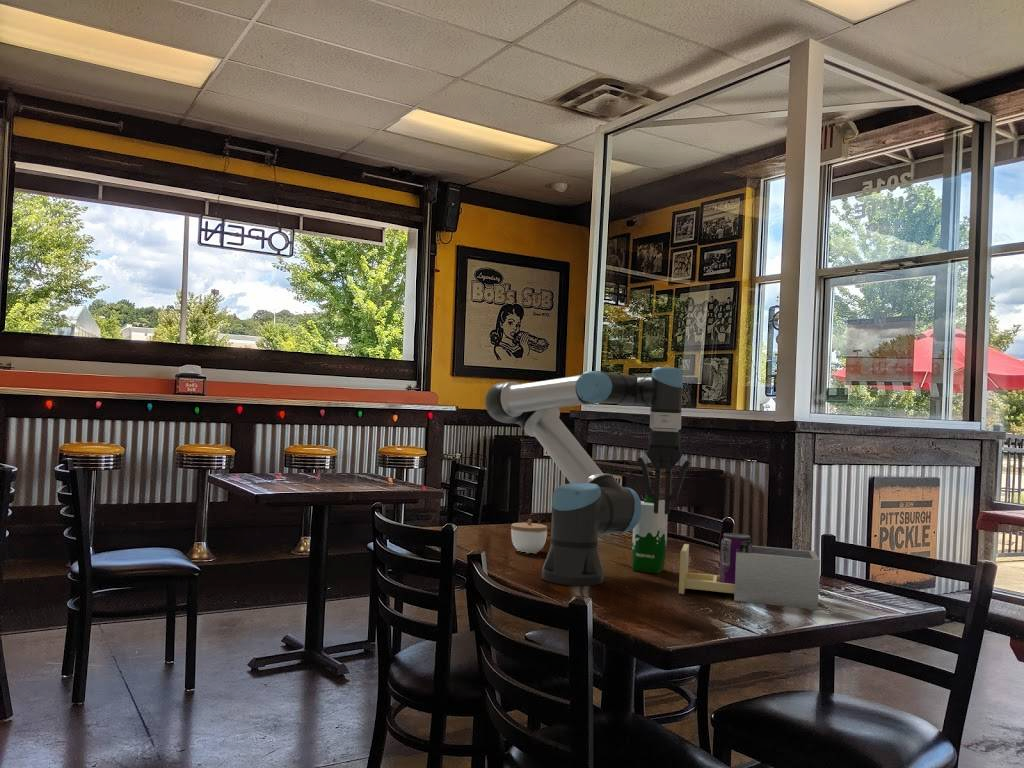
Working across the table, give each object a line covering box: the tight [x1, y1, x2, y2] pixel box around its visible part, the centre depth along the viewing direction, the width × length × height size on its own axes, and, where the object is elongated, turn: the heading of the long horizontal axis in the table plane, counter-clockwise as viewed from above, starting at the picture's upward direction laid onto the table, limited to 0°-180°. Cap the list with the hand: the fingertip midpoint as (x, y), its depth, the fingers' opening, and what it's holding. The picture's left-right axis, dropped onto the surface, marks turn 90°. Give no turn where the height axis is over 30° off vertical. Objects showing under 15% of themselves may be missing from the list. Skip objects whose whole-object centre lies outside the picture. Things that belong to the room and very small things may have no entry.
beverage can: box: [719, 532, 753, 584], centre depth 192 cm, size 7×7×12 cm
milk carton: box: [631, 494, 669, 574], centre depth 218 cm, size 9×9×20 cm
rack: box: [678, 543, 735, 595], centre depth 193 cm, size 18×14×10 cm
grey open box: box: [733, 545, 821, 611], centre depth 190 cm, size 18×14×11 cm
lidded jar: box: [510, 518, 548, 554], centre depth 238 cm, size 11×11×9 cm
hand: (661, 527), depth 197 cm, fingers closed
